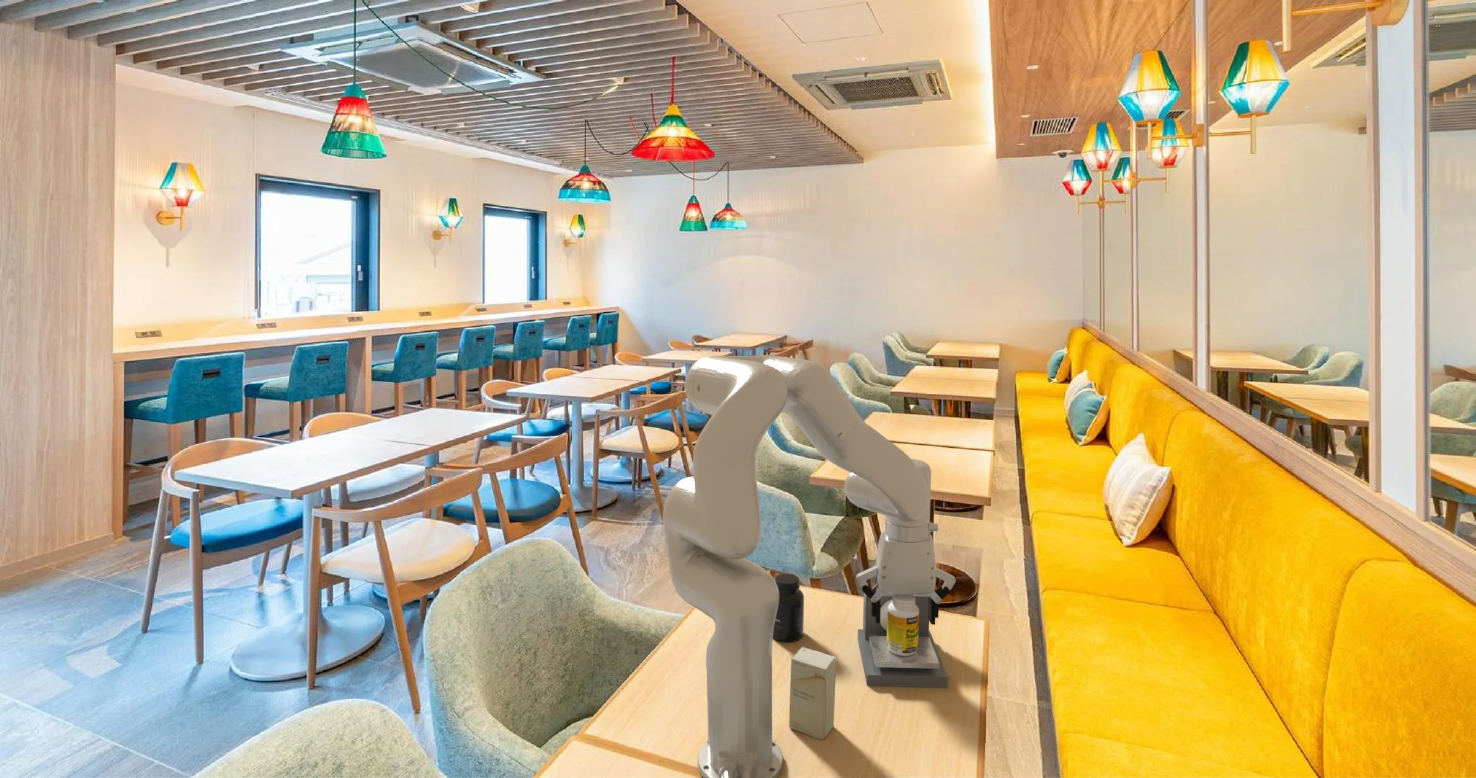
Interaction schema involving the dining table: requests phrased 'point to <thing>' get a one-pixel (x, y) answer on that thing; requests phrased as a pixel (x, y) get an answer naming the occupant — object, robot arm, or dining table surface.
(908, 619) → the supplement bottle
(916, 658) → the scale pan
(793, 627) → the supplement bottle
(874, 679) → the scale base
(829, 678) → the skincare box
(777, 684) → the dining table surface
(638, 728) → the dining table surface
